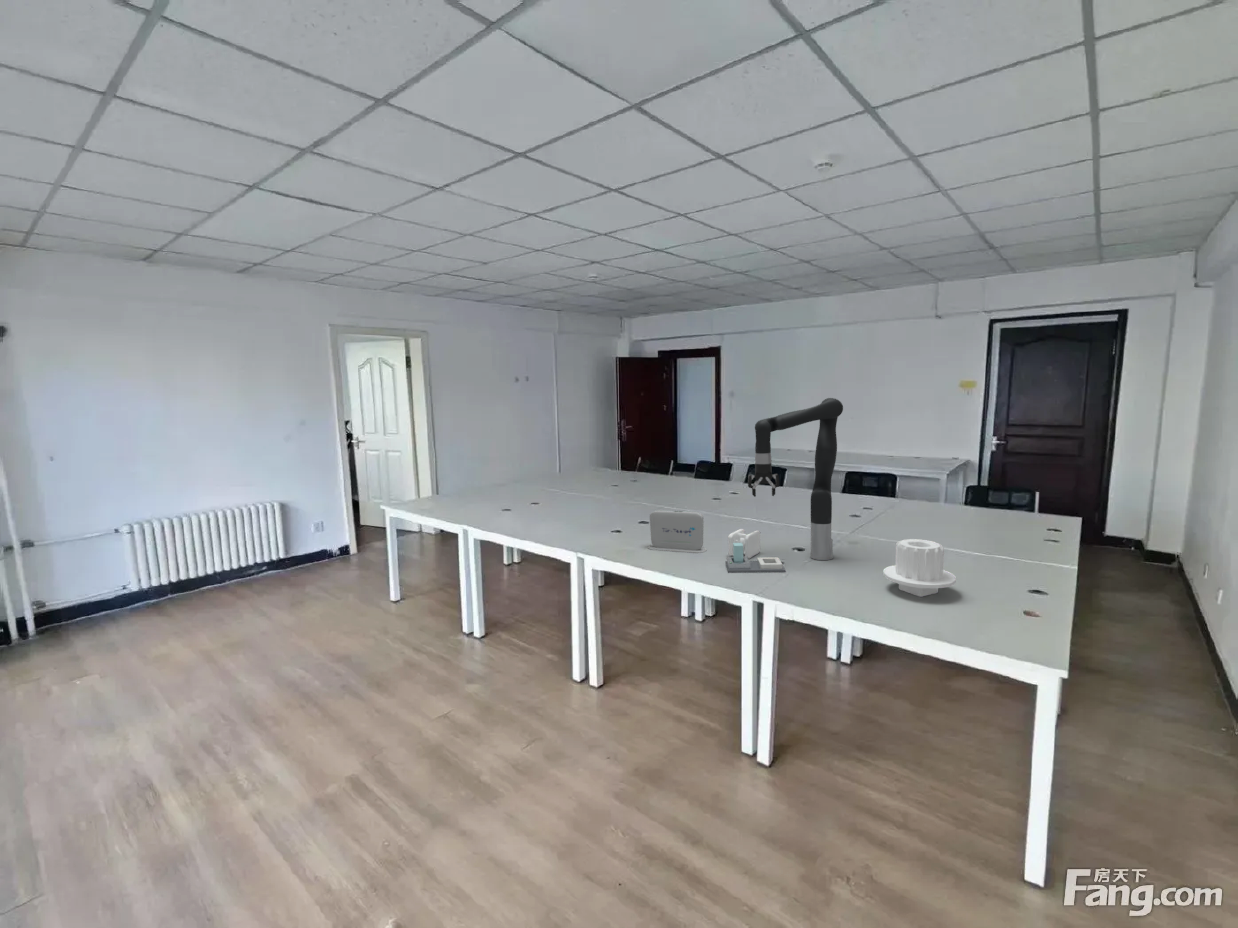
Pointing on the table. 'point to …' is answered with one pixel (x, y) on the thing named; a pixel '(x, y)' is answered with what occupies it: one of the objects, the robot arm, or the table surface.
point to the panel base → (754, 568)
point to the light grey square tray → (769, 563)
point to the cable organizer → (745, 542)
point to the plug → (737, 552)
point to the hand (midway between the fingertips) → (763, 496)
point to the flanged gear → (919, 567)
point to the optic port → (738, 563)
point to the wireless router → (677, 531)
